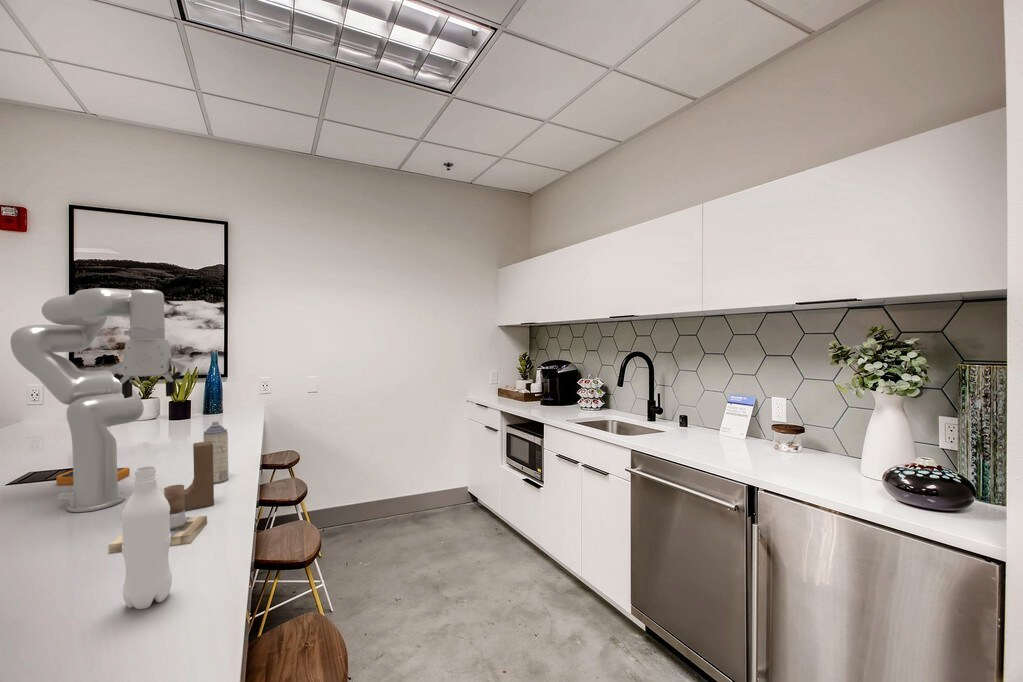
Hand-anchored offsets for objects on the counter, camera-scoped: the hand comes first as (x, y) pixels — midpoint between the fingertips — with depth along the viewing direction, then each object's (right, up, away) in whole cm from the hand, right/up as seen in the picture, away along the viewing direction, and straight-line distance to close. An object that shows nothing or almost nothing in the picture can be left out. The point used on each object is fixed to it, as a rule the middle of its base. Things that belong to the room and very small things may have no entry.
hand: (149, 396), depth 128 cm
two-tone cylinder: (+17, -33, -14) cm, 39 cm away
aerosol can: (+1, -32, +27) cm, 42 cm away
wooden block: (+9, -32, +5) cm, 34 cm away
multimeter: (-41, -32, +28) cm, 60 cm away
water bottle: (+32, -34, -41) cm, 62 cm away
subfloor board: (+14, -33, -15) cm, 39 cm away
